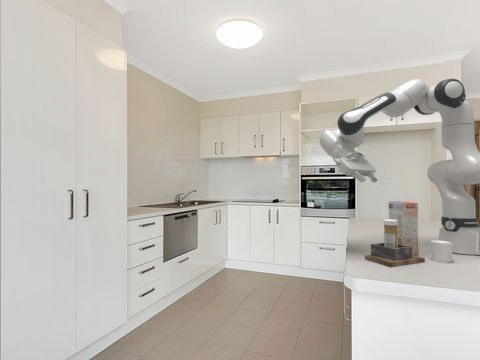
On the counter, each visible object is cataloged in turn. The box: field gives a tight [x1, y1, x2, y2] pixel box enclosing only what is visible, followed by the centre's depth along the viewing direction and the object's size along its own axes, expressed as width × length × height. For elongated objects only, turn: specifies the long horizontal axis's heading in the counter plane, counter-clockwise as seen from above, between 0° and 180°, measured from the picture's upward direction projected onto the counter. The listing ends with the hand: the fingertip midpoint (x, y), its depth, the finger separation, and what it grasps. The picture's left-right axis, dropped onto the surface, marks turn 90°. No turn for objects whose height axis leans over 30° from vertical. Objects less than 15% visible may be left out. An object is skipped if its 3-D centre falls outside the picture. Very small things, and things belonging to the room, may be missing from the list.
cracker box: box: [388, 200, 419, 256], centre depth 116 cm, size 14×6×21 cm, turn 173°
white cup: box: [429, 239, 453, 264], centre depth 101 cm, size 7×7×7 cm
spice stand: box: [364, 242, 426, 268], centre depth 101 cm, size 17×11×6 cm, turn 112°
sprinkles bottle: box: [383, 218, 398, 248], centre depth 102 cm, size 5×5×13 cm
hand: (369, 181), depth 108 cm, fingers open, 8 cm apart
